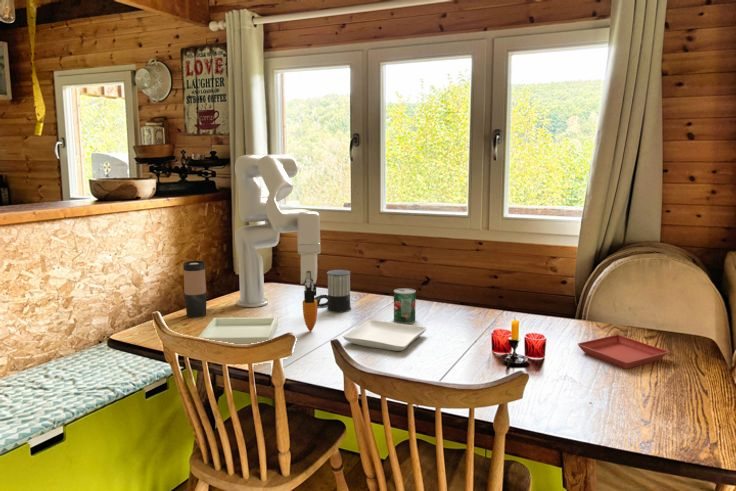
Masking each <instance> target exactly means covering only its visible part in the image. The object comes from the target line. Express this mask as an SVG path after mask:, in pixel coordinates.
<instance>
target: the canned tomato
mask: <svg viewBox="0 0 736 491" xmlns="http://www.w3.org/2000/svg"><path fill="white" fill-rule="evenodd" d="M416 292H417V291H416V289H413V288H409V287H406V288H405V287H404V288H402V287H401V288H396V289H394V290H393V321H394V323H399V324H406V325H408V324H414V323H415V322H416V297H417V296H416V294H417V293H416Z"/></svg>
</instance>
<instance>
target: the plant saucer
mask: <svg viewBox="0 0 736 491" xmlns="http://www.w3.org/2000/svg"><path fill="white" fill-rule="evenodd" d="M577 346H578V347H579V348H580V349H581V350H582V352H584V354H586V355H588V356H591V357H594V358H596V359H599V360H601V361H603V362H606V363H609V364H612V365H614V366H617V367H619V368H622V369H625V370H627V369H632V368H636V367H639V366H643V365H646V364H650V363H654V362H657V361H660V360H661V359H663V358H664V357H665V356H666V355H667V354H669V351H668V350H665V349H663V348H660V347H656V346H653V345H650V344H648V343H644V342H641V341H639V340H637V339H636V340H635V339H633V338H630V337H627V336H623V335H620V334H613V335H609V336H604V337H600V338H595V339H591V340H587V341H583V342H578V343H577Z"/></svg>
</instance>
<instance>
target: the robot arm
mask: <svg viewBox="0 0 736 491" xmlns="http://www.w3.org/2000/svg"><path fill="white" fill-rule="evenodd" d="M298 169H299V166H298V162H297V160H296V159H295V158H294V156H292V155H290V154H260V153H259V154H244V155H240V156H239V157H237V158H236V161H235V164H234V172H235V176H236V180H237V185H238V216H239V218H240V220H241V221H242V222H245V223H258V222H264V223H262V224H252V225H251V224H250V225H249V224H248V225H244V226H240V227H239V228H237V229H236V231H235V234H234V237H235V238H234V240H235V244H236V249H237V257H238V276H239V277H238V278H239V280H238V281H239V298H238V299H237V300H236V302H235V303H236V306H238V307H241V308H257V307H262V306H265V305H268V304H269V299H268V298H267V297H265V282H264V280H265V279H264V278H265V276H264V259H263V257H262V255H261V254H260V252H259V251H258V250H259V249H266V248H273V247H276V246H278V244H279V242H280V238H281V237H280V236H281V235H280V234H281V233H282V234H284V233H293V232H296V235H297V254H298V255H300V284H301V285H304V291H303V295H304V298H303V300H305V303H314V298H315V297H317V284H316V283H317V278H318V255H319V254H321V221H320V220H321V216H320V213H319V212H317V211H313V210H308V209H306V208H305V209H304V208H302V209H301V208H300V209H285V210H283V209H282V210H281V209H280V205H279V202H280V201H282V200H284V199H286V198H287V197H288V196H290V195H291V193H292V191H293V190H294V185H293V183H292V181H291V179H292V178H294V177H295V176H296V175H297V174H298V171H299V170H298ZM258 178H262V180H263V182H264V184H265V186H266V188H267V190H268V192H269V194H268V196H262V185H261V184H260V182H259V180H258ZM290 178H291V179H290ZM314 290H315V292H314Z"/></svg>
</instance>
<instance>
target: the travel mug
mask: <svg viewBox="0 0 736 491" xmlns="http://www.w3.org/2000/svg"><path fill="white" fill-rule="evenodd" d="M182 265H183V266H182V268H183V286H184V288H183V289H184V303H185V312H186V317H187V318H191V319H194V318H195V319H197V318H203V317H205V316H207V284H206V269H205V268H206V267H205V261H202V260H188V261H184V262H183V263H182Z"/></svg>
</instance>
